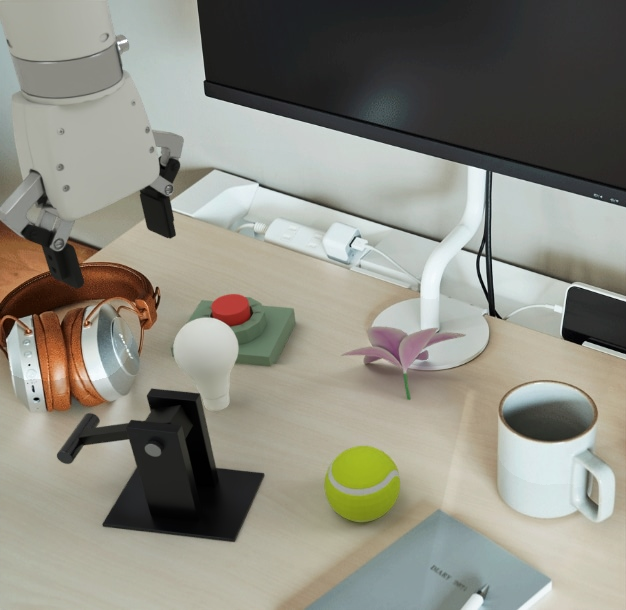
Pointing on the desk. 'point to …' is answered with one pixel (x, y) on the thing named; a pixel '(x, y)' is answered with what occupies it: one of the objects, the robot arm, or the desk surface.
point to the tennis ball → (362, 484)
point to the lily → (400, 346)
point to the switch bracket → (181, 479)
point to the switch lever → (115, 430)
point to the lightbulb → (207, 358)
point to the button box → (257, 331)
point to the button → (231, 309)
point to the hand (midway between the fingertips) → (117, 256)
